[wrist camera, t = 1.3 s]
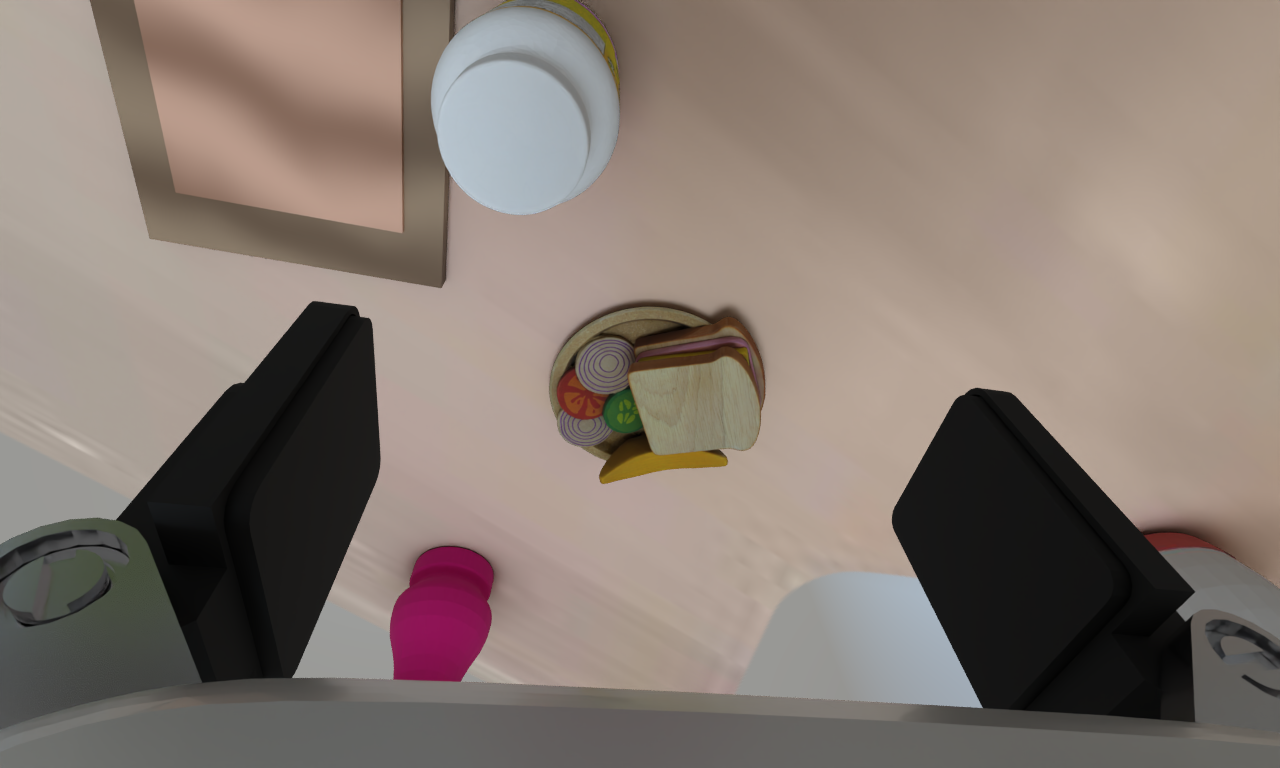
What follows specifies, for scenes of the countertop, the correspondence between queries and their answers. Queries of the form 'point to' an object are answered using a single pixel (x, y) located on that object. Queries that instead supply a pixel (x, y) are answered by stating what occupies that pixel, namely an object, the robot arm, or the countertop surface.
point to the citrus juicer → (1219, 581)
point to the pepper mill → (442, 616)
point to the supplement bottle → (527, 104)
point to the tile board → (286, 127)
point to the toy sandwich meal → (658, 391)
